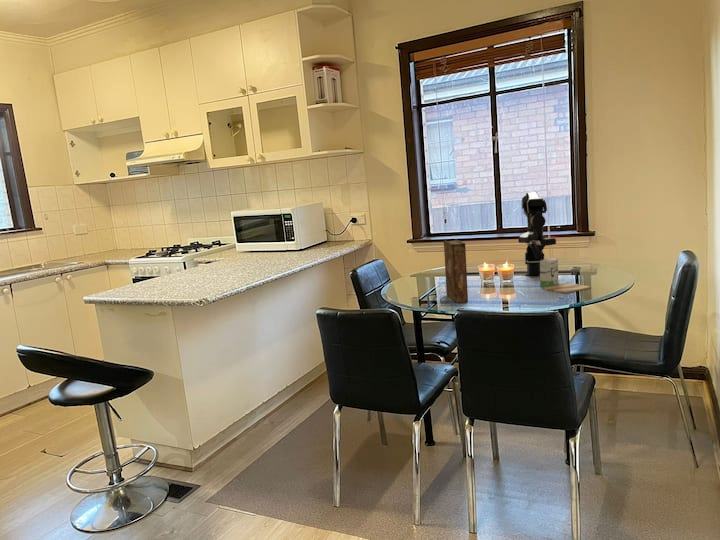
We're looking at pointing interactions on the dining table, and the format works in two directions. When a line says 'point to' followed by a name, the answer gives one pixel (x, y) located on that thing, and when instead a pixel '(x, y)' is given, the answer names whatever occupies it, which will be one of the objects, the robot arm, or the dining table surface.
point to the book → (456, 271)
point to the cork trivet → (566, 288)
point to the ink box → (548, 272)
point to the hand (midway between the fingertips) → (537, 258)
